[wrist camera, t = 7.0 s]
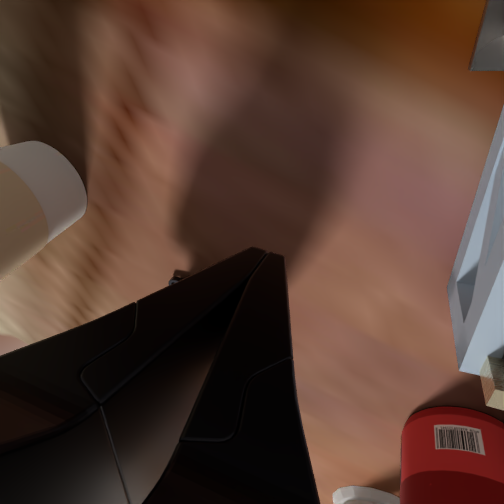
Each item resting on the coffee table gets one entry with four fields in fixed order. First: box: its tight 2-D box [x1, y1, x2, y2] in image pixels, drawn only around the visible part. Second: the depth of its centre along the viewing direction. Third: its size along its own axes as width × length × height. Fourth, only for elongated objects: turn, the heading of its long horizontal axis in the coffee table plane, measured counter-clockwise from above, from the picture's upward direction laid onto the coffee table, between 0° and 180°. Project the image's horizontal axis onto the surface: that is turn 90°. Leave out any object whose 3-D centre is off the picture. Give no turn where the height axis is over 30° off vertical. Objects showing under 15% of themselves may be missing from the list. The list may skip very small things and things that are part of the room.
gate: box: [447, 105, 504, 375], centre depth 14 cm, size 11×1×6 cm, turn 4°
